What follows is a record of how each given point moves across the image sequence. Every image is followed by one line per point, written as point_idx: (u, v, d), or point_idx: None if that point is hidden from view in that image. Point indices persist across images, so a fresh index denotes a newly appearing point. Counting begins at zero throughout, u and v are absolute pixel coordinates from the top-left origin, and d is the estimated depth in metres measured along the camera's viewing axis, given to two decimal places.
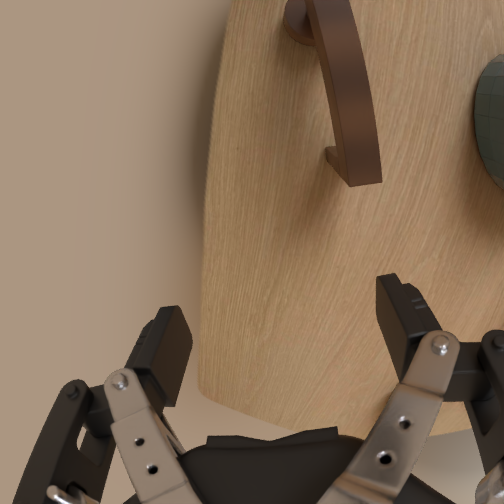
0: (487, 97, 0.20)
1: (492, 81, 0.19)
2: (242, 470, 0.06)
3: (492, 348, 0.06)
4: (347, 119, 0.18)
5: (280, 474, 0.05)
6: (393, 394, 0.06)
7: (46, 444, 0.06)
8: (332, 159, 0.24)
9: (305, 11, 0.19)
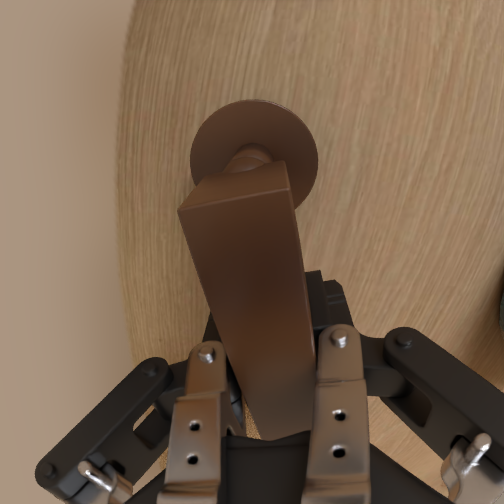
0: None
1: None
2: (242, 470, 0.06)
3: (394, 345, 0.08)
4: None
5: (280, 474, 0.05)
6: (315, 395, 0.06)
7: (100, 417, 0.07)
8: None
9: None
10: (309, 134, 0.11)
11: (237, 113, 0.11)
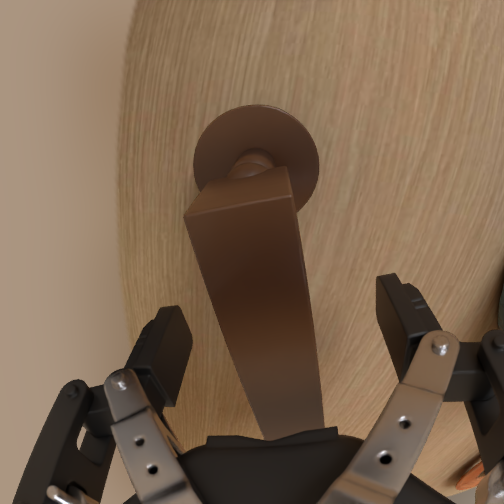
0: None
1: None
2: (242, 470, 0.06)
3: (492, 348, 0.06)
4: None
5: (280, 474, 0.05)
6: (393, 394, 0.06)
7: (46, 444, 0.06)
8: None
9: (233, 166, 0.12)
10: (310, 139, 0.11)
11: (240, 118, 0.11)
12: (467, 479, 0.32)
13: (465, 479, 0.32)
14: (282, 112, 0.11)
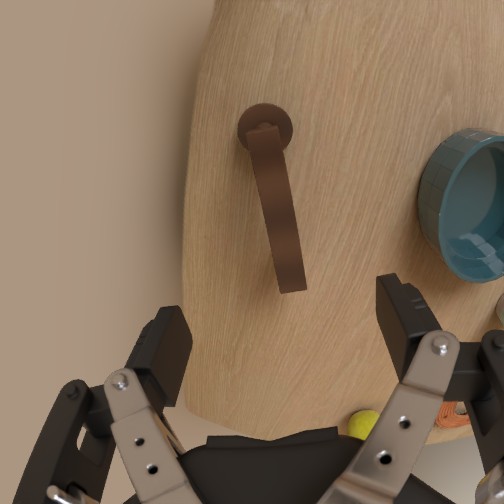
0: (429, 186, 0.28)
1: (436, 170, 0.27)
2: (242, 470, 0.06)
3: (492, 348, 0.06)
4: (277, 248, 0.26)
5: (280, 474, 0.05)
6: (393, 394, 0.06)
7: (46, 444, 0.06)
8: None
9: (255, 129, 0.27)
10: (288, 117, 0.26)
11: (258, 108, 0.26)
12: (444, 410, 0.47)
13: (442, 410, 0.47)
14: (276, 106, 0.26)
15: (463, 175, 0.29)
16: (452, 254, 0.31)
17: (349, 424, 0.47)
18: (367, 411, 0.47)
